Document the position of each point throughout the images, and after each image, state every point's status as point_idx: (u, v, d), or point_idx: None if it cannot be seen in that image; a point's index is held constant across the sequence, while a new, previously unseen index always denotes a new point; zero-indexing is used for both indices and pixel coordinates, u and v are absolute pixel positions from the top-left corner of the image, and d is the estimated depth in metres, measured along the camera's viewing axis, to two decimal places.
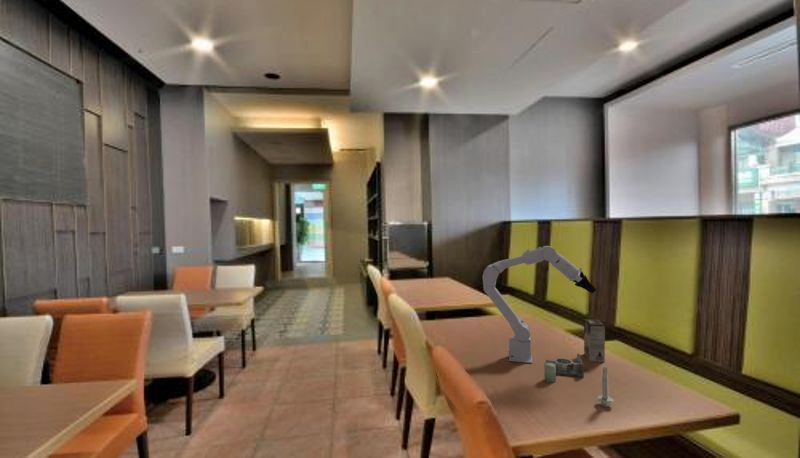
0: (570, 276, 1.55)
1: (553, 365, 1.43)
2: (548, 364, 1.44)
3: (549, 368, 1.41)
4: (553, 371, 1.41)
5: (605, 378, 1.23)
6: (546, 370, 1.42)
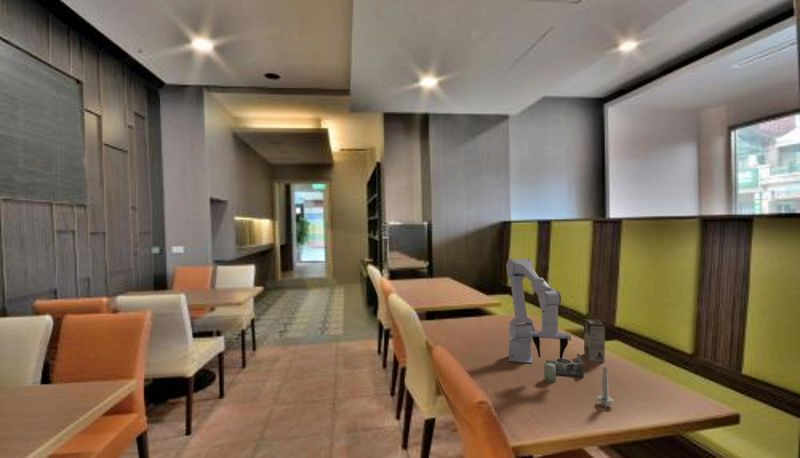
0: None
1: (553, 365, 1.43)
2: (548, 364, 1.44)
3: (549, 368, 1.41)
4: (553, 371, 1.41)
5: (605, 378, 1.23)
6: (546, 370, 1.42)
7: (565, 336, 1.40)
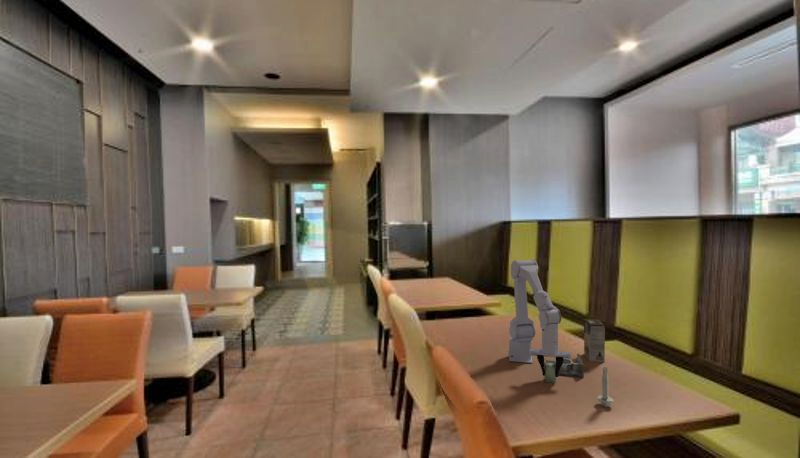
0: None
1: (553, 365, 1.43)
2: (548, 364, 1.44)
3: (549, 368, 1.41)
4: (553, 371, 1.41)
5: (605, 378, 1.23)
6: (546, 370, 1.42)
7: (565, 355, 1.40)
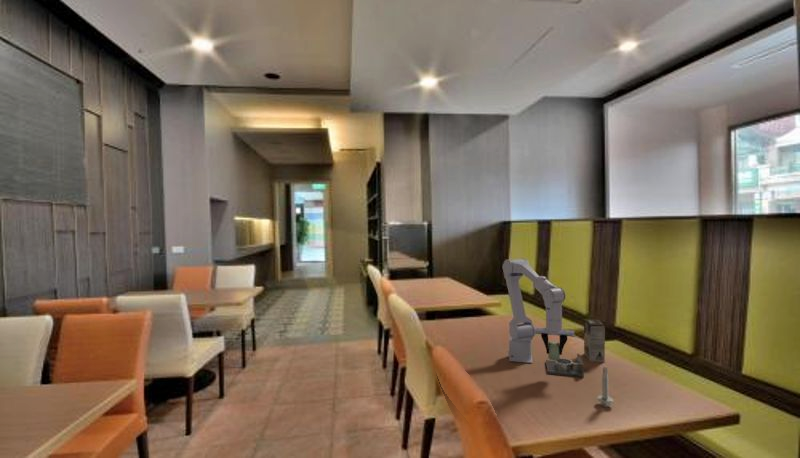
0: None
1: (557, 343, 1.45)
2: (552, 343, 1.46)
3: (553, 346, 1.44)
4: (557, 349, 1.44)
5: (605, 378, 1.23)
6: (550, 348, 1.45)
7: (569, 333, 1.43)
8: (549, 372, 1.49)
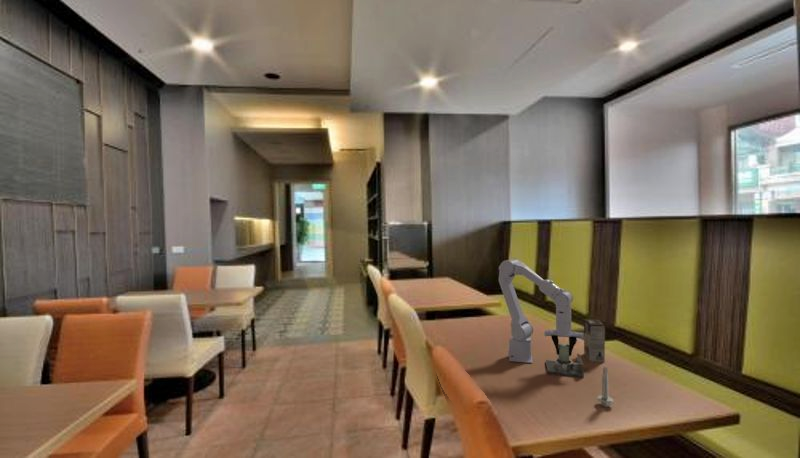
0: None
1: (567, 345, 1.52)
2: (562, 344, 1.53)
3: (563, 347, 1.51)
4: (566, 350, 1.50)
5: (605, 378, 1.23)
6: (560, 349, 1.52)
7: (578, 335, 1.50)
8: (549, 372, 1.49)
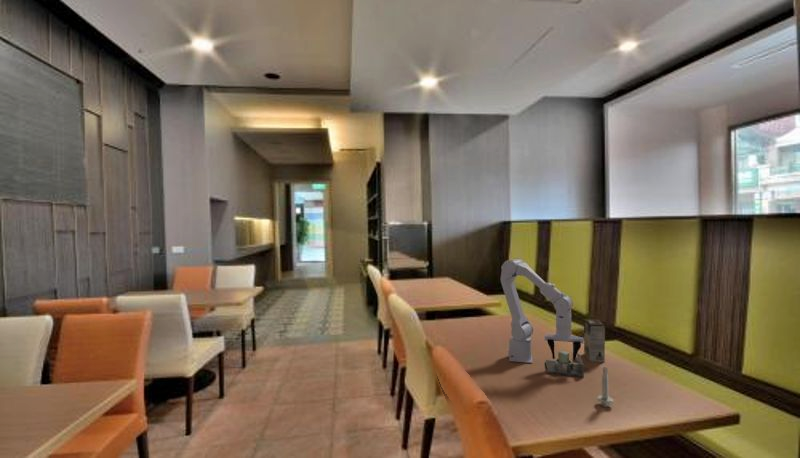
0: None
1: (567, 353, 1.52)
2: (562, 352, 1.53)
3: (562, 355, 1.51)
4: (566, 358, 1.51)
5: (605, 378, 1.23)
6: (559, 357, 1.52)
7: (578, 339, 1.50)
8: (549, 372, 1.49)
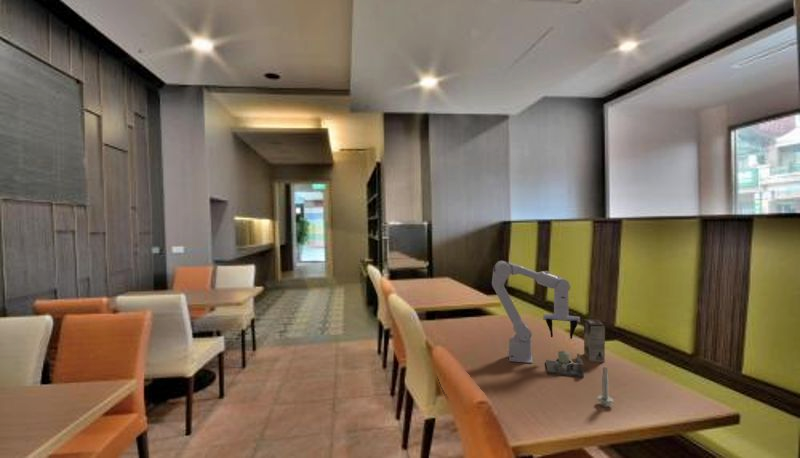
0: None
1: (567, 353, 1.52)
2: (562, 352, 1.53)
3: (562, 355, 1.51)
4: (566, 358, 1.51)
5: (605, 378, 1.23)
6: (559, 357, 1.52)
7: (575, 318, 1.59)
8: (549, 372, 1.49)
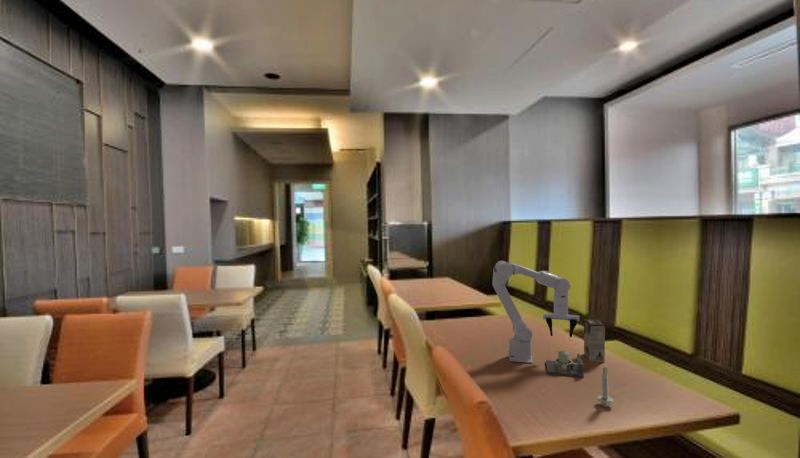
0: None
1: (567, 353, 1.52)
2: (562, 352, 1.53)
3: (562, 355, 1.51)
4: (566, 358, 1.51)
5: (605, 378, 1.23)
6: (559, 357, 1.52)
7: (574, 317, 1.60)
8: (549, 372, 1.49)
